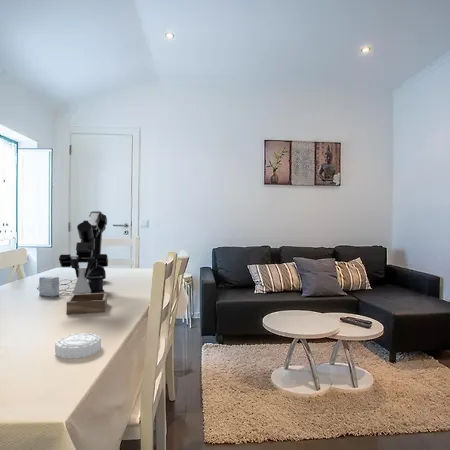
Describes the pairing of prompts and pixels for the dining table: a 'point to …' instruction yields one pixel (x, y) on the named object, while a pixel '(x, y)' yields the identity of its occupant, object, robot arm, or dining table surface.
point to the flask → (81, 283)
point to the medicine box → (49, 286)
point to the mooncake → (77, 345)
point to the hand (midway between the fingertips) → (81, 277)
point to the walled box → (86, 303)
